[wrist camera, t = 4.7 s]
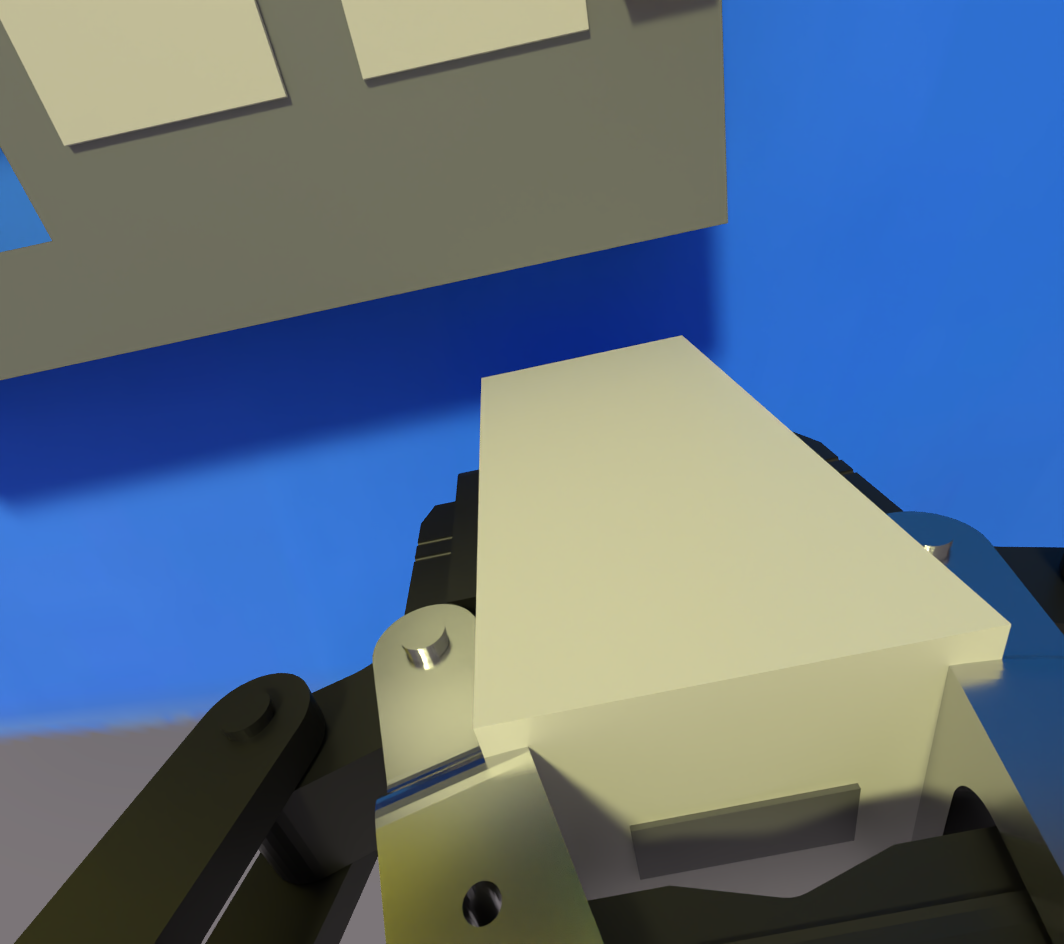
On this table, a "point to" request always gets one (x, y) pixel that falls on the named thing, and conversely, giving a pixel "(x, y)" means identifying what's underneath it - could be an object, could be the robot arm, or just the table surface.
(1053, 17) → the table surface
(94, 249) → the power strip
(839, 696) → the cream rectangular block
